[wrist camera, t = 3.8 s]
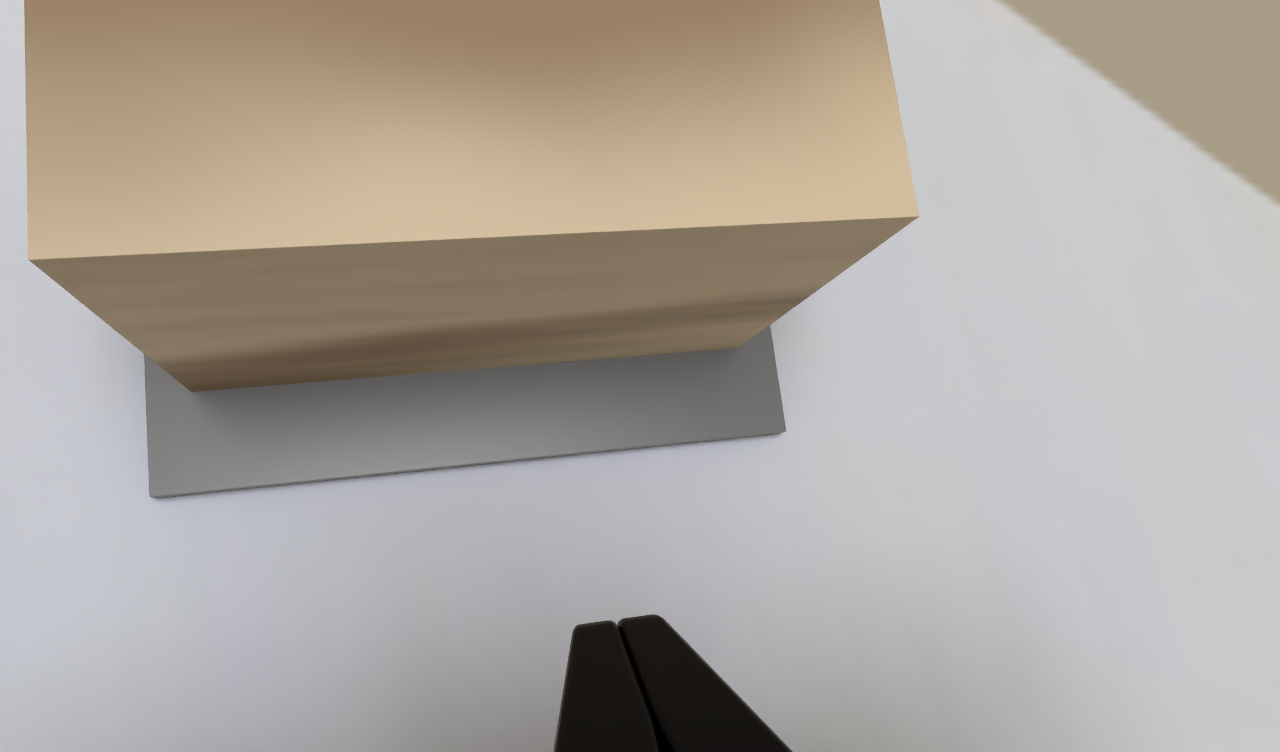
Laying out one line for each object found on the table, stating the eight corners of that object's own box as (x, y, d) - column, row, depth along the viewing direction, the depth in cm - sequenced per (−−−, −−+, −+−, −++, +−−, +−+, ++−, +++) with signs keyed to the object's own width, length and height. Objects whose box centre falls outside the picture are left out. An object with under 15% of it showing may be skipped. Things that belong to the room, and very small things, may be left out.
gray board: (779, 433, 21) (785, 431, 21) (155, 498, 18) (149, 496, 18) (706, -43, 23) (711, -54, 23) (133, -55, 20) (128, -67, 20)
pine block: (737, 347, 21) (919, 216, 13) (191, 391, 18) (28, 259, 11) (700, 91, 22) (848, -166, 14) (177, 99, 19) (21, -210, 12)
